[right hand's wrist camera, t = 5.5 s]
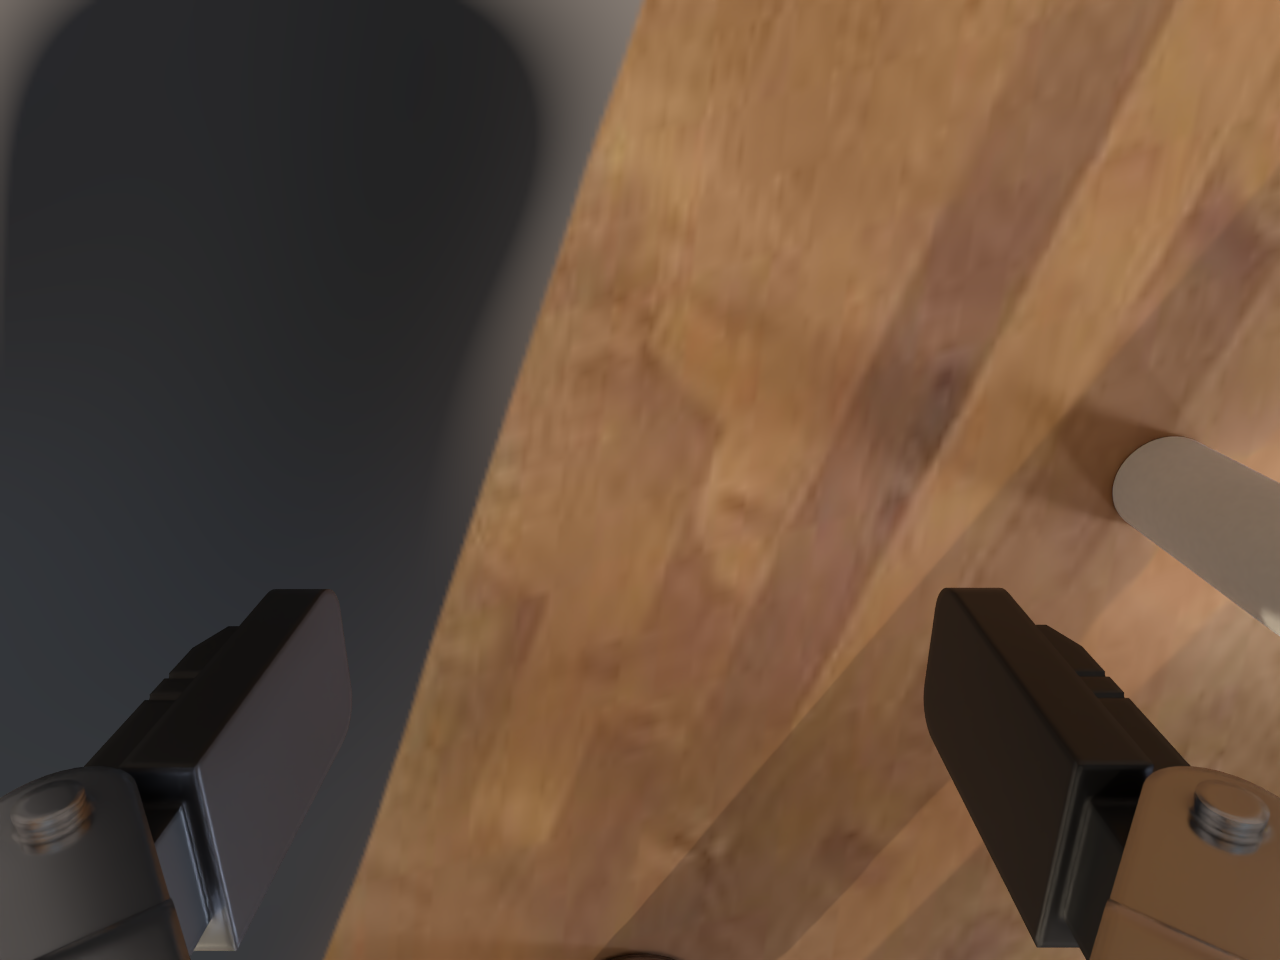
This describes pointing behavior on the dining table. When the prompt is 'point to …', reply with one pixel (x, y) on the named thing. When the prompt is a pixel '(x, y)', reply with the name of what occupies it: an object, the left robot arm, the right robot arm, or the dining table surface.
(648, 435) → the dining table surface
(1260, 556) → the bottle
